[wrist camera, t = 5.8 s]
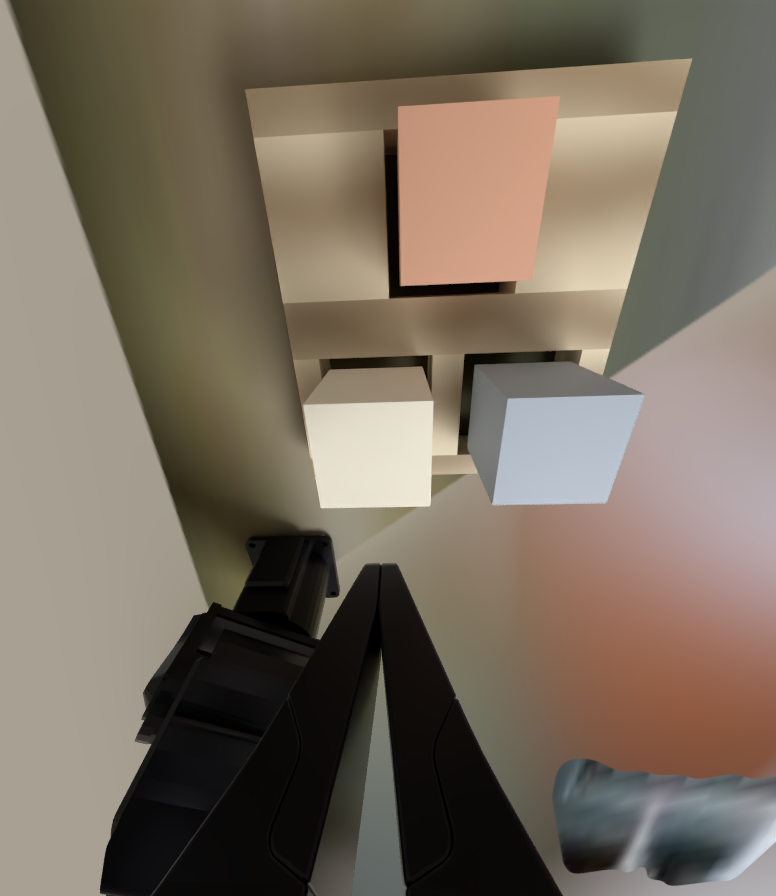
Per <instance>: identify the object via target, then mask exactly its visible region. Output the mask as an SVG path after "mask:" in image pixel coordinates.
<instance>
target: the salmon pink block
mask: <svg viewBox="0 0 776 896" xmlns="http://www.w3.org/2000/svg"><path fill="white" fill-rule="evenodd" d="M559 102H560V96H552V97H536V98H521V99H506V100H490V101H475V102H460V103H444V104H429V105H414V106H399V107H398V141H397V184H398V236H399V285H400V286H413V285H435V284H458V283H481V282H504V281H526V280H532V276H533V270H534V263H535V257H536V250H537V244H538V237H539V231H540V224H541V218H542V212H543V205H544V199H545V192H546V186H547V179H548V173H549V166H550V160H551V153H552V147H553V141H554V134H555V128H556V121H557V115H558V108H559Z"/></svg>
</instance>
